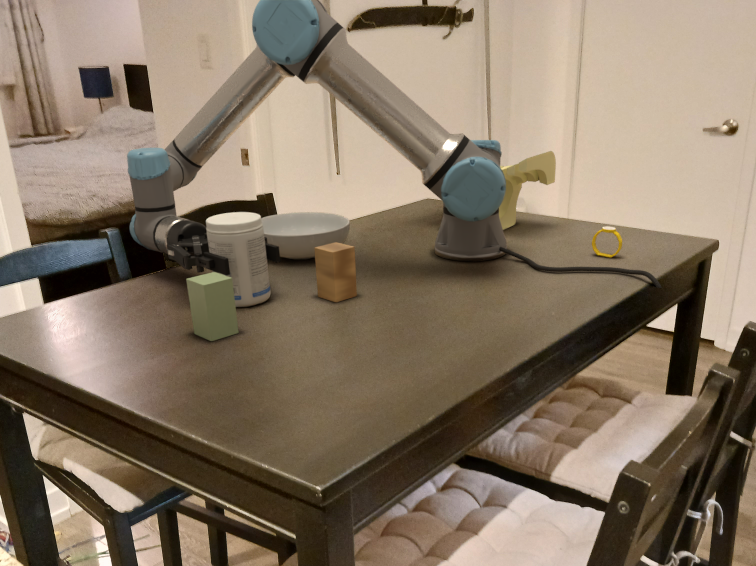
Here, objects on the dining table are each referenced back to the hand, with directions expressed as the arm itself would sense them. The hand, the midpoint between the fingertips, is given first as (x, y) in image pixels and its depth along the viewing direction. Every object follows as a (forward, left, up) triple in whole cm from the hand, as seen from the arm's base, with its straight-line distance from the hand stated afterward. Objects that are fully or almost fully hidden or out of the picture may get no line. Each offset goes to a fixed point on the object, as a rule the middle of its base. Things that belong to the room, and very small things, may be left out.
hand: (253, 260), depth 129 cm
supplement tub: (+4, -2, -8) cm, 9 cm away
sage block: (+1, +14, -8) cm, 16 cm away
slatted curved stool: (-28, -67, -8) cm, 73 cm away
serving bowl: (+5, -34, -8) cm, 35 cm away
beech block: (-12, -7, -8) cm, 16 cm away
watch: (-58, -44, -8) cm, 73 cm away
